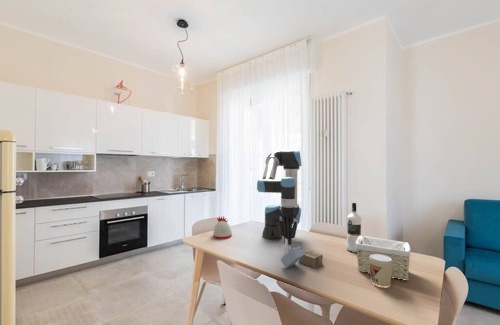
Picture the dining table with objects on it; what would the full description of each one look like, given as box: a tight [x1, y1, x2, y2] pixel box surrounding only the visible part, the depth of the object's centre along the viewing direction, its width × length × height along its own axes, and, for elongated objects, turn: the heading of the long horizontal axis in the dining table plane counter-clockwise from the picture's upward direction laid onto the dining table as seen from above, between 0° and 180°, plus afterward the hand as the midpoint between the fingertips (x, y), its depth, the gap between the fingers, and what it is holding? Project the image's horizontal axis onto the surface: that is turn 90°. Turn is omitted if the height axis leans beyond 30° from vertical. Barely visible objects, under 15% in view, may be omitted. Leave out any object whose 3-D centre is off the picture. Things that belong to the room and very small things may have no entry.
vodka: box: [345, 202, 362, 253], centre depth 151 cm, size 9×9×30 cm
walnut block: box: [298, 249, 323, 269], centre depth 131 cm, size 8×5×10 cm
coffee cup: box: [369, 254, 393, 286], centre depth 108 cm, size 9×9×12 cm
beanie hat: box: [212, 215, 233, 240], centre depth 178 cm, size 14×14×15 cm
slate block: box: [279, 245, 305, 269], centre depth 125 cm, size 8×5×10 cm
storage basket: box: [355, 235, 412, 281], centre depth 122 cm, size 24×16×15 cm
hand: (287, 250), depth 127 cm, fingers closed
